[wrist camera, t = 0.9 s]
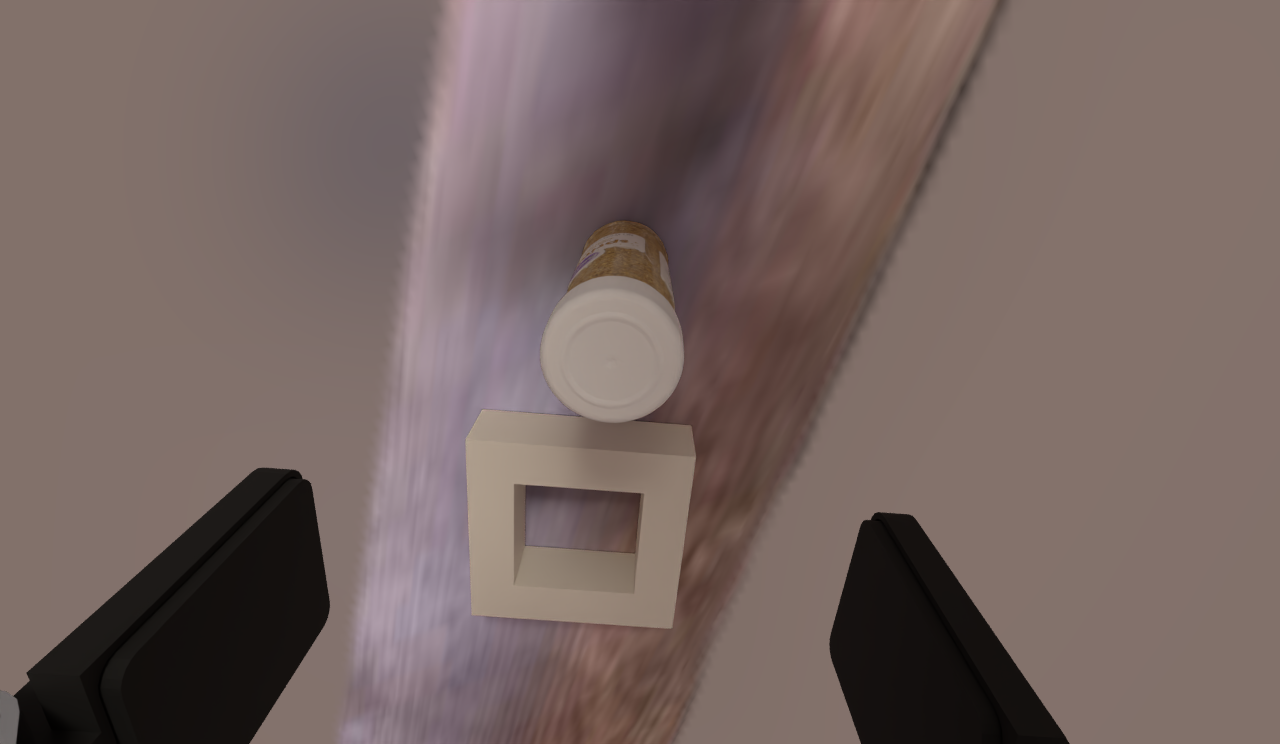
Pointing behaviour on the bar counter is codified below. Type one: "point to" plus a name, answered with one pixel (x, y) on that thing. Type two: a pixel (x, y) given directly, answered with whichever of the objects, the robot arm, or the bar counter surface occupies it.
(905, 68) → the bar counter surface
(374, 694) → the bar counter surface
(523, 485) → the collar
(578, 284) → the sprinkles bottle
